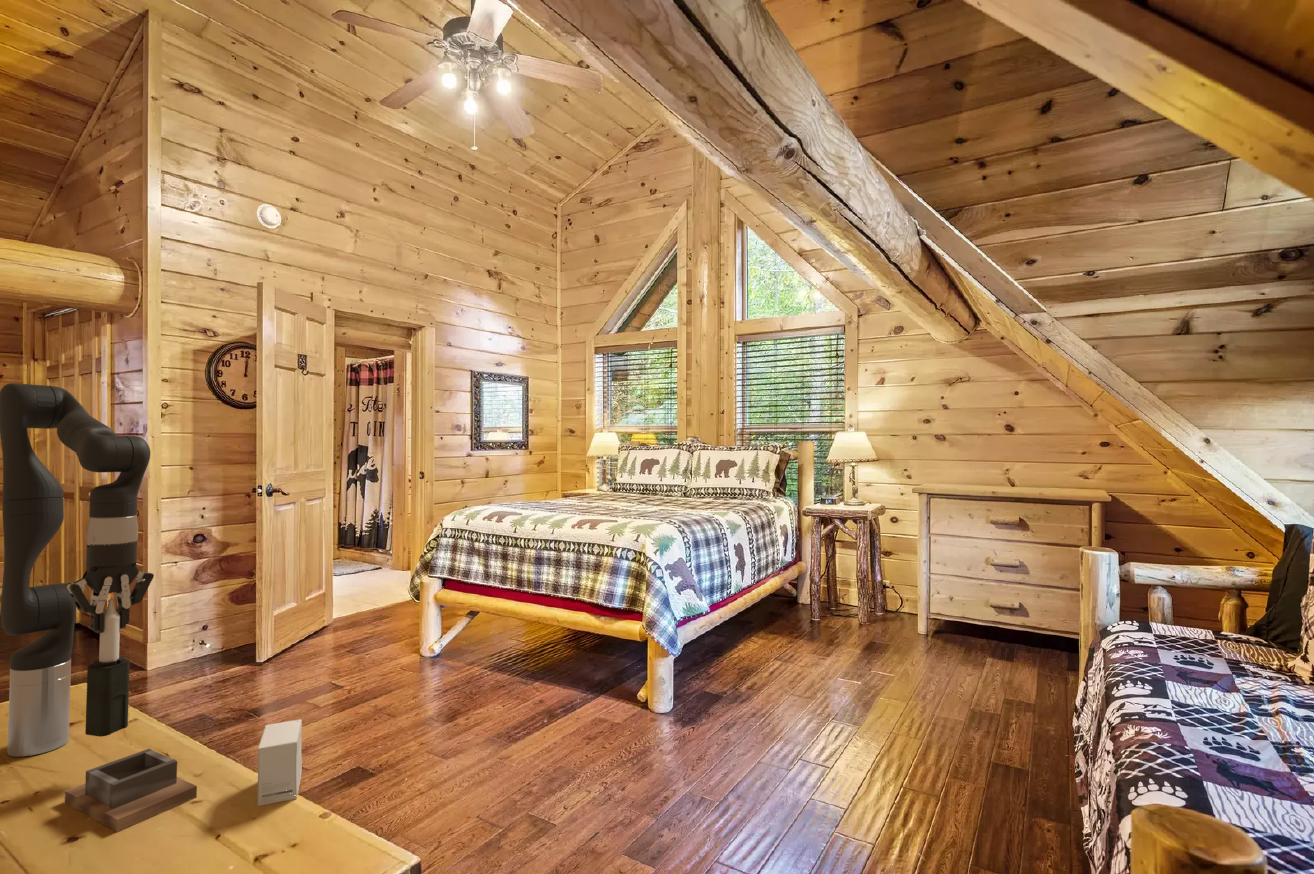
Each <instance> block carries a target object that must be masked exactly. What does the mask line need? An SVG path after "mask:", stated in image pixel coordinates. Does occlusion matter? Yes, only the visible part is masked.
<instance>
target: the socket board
mask: <svg viewBox="0 0 1314 874" xmlns="http://www.w3.org/2000/svg"><path fill="white" fill-rule="evenodd" d="M197 788H198V786H197V785H195V784H193V783H191V782H189V781H187V780H184V779H182V778H180V777H178V760H176V759H173V758H172V757H169V756H166V755H164V754H162V753H160V752H157V751H155V750H153V749H152V748H151V749H150V748H147V749H143V750H141V751H138V752H135V753H132V754H130V755H128V756H125V757H122V758H119V759H115V760H112V761H110V762H107V763H105V764H101V765H100V766H96V767H93V768H90V769H88V770H86V771H85V782H84V783H83V784H80V785H78V786H75V787H72V788H69V789H66V790H64V803H65V804H67V805H69V806H70V807H72V808H74V809H76V810H77V811H79V812H81V813H83V814H84V815H86V816H88V817H89V818H91V817H92V818H91V819H93V818H94V820H95V821H97V822H98V821H99V823H100V824H102V825H104V826H106V827H108V829H111V830H113V831H114V832H117V833H118V832H120V831H122V830H125V829H127V828H130V827H132V826H134V825H137V824H139V823H140V822H143V821H145V820H148V819H150V818H152V817H154V816H157V815H159V814H161V813H164V812H167V811H168V810H170V809H173V808H175V807H177V806H180V805H183V804H184V803H187V802H189V801H190V800H194V799H196V798H197V796H198V795H197V791H198V789H197Z"/></svg>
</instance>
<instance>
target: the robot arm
mask: <svg viewBox="0 0 1314 874" xmlns="http://www.w3.org/2000/svg"><path fill="white" fill-rule="evenodd" d="M28 429H47V430H48V429H49V430H51V429H56V435H57V437H58V440H59V441H60V442H61V443H62V444H63V445H64V446H65V447H67V448H68V449H70V450H71V451H73V452H75V454H76V456H77V459H78V463H79V464H80V466H81V467H82V468H83V469H84V470H86V471H89V472H93V473H119V475H118V476H117V478H116V479H115V480H114V481H113V482H109V483H106V484H101V485H98V486H94V487H93V488H92V489H91V490H90V492H89V493H90V494H89V506H88V507H89V510H88V511H89V512H88V513H89V514H88V523H87V528H86V544H85V545H86V548H85V550H86V551H85V571H84V573H83V575H82V578H80V579H78V580H76V581H73V582H66V583H65V582H61V583H60V582H59V583H51V584H45V585H44V584H43V585H37V586H29V585H30V584H29V583H30V577H31V574H32V570H33V568H34V565H35V563H36V562H37V560H38V558H39V557H40V556H41V554H42V552H43V551H44V549H45V548H47V545H48V544H50V542H51V541H52V539H53V538H54V537H55V536H56V534H57V533H58V531H59V529H60V528H61V527H62V524H63V523H64V519H65V509H64V508H65V506H64V505H65V504H64V503H65V501H64V496H65V495H64V490H63V487H62V485H61V483H60V482H59V480H58V479H57V477H55V475H54V474H53V473H52V472H51V471H50V470H49V469H48V468H47V467H46V465H44V463H43V462H42V461H41V459H39V457H38V456H37V454H36V452H35V451H34V449H33V447H32V445H31V440H30V438H29V432H28ZM0 445H1V451H2V497H1V498H2V502H1V503H2V504H1V507H2V514H1V515H2V528H3V529H2V530H3V550H4V551H3V554H4V555H3V556H4V557H3V576H2V588H1V597H0V623H1V627H2V629H3V631H4V633H6V635H8V636H20V635H26V634H32V633H37V632H43V631H44V632H45V633H44V634H42V636H40V637H39V638H37V639H36V640H35V641H33V642H31V643H30V644H27V645H26V646H24V647H22V648H19V649H17V650H15V652H13V653H12V654H11V656H10V660H9V695H8V696H9V697H8V698H9V699H8V722H7V724H8V727H7V751H6V752H7V755H8V756H10V757H16V758H18V757H19V758H20V757H29V756H35V755H39V754H44V753H48V752H51V751H54V750H55V749H58V748H61V747H63V746H64V745H65V744H67V743H68V742H69V737H70V736H69V735H70V710H71V709H70V708H71V707H70V706H71V681H72V680H71V676H72V675H71V674H72V673H71V671H72V652H73V651H72V650H73V646H74V633H75V624H76V614H77V610H78V611H80V612H84V613H89V614H90V630H91V631H93V632H94V633H96V634H100V633H103V632H104V614H105V612H104V609H105V605H106V602H107V600H108V597H109V594H114V596H115V599H116V604H117V608H116V607H115V609H116V611H117V612H118V613H119V615H120V630H121V629H125V628H126V627H127V625H129V623H130V609H131V607H132V606H135V604H136V605H137V604H139V603H142V601H143V598H144V597H145V595H146V592H147V590H148V589H149V587H150V585H151V583H152V581H153V579H154V576H155V575H154V573H153V572H147V571H140V569H139V568H138V565H137V562H138V540H139V539H138V538H139V523H138V517H137V516H138V495H139V491H140V488H141V485H142V482H143V478H144V475H145V473H146V472H147V469H148V466H149V464H150V460H151V448H150V446H149V444H148V442H147V441H146V440H145V439H144V438H143V437H141V436H137V435H117V434H116V432H115V431H114V430H113V429H112V428H111V427H109V426H108V425H106V424H104V423H103V422H102V421H99V420H98V419H96V418H94V417H93V416H92V415H90V414H89V413H88V412H87V410H86V409H85V408H84V406H83V405H82V404H81V403H80V402H79V400H78V399H77V398H76V397H75V396H74V395H73V394H72V393H71V392H69V391H68V390H67V389H64V388H63V387H60V386H55V385H54V386H53V385H43V384H42V385H41V384H31V383H30V384H29V383H28V384H27V383H16V382H14V383H11V382H10V383H7V384H5V385H3V387H2V388H1V389H0ZM134 580H135V582H136V583H135V584H134V587H133V589H132V591H131V590H130V585H131V584H132V582H133V581H134ZM86 585H87V586H88V587H89V588H90V589H91V594H90V602H89V600H88V598H87V597H86V595H85V593H84V591H85V589H86V587H85V586H86Z"/></svg>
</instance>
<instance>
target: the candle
mask: <svg viewBox="0 0 1314 874" xmlns="http://www.w3.org/2000/svg"><path fill="white" fill-rule="evenodd" d="M107 600H108V601H107V602H108V604H107V606H106V609H105V611H104V613H105V614H104V632H103V633H99V647H98V648H99V655H98V658H96V659H95V660H93V662H92V663H91V664H89V665H87V667H86V669H87V671H86V673H87V674H86V675H87V676H86V698H85V699H86V702H85V703H86V705H85V706H86V708H85V710H86V711H85V731H84V732H85V733H84V734H85V735H87V736H93V737H101V738H102V737H107V736H110V735H111V734H114V733H116V732H118V731H121V730H123V729H124V730H125V729H126V728H128V725H129V696H130V695H129V694H130V693H129V692H130V671H131V670H130V668H131V667H130V663H131V661H130V659H125V656H123V655H120V635H121V633H120V632H121V629H120V615H119V613H118V612H117V611H116V607H115V605H114V599H113V598H110V599H107Z"/></svg>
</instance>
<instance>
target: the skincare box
mask: <svg viewBox="0 0 1314 874" xmlns="http://www.w3.org/2000/svg"><path fill="white" fill-rule="evenodd" d="M302 722H303V721H302V719H301V718H300V719H296V720H295V719H294V720H289V721H288V720H287V721H283V722H282V721H281V722H277V723H276V722H274V723H271V724H270V723H268V724H266V725H265V727H264V729H263V733H262V735H261V739H260V741H259V744H258V747H257V807H259V806H267V805H271V804H273V803H274V804H275V803H280V802H287V801H292V800H296V799H298V794H299V790H300V789H299V788H300V786H301V785H300V784H301V778H302V772H303V764H302V762H303V759H302V733H303V731H302V727H303V725H302V724H303V723H302ZM286 790H287V791H286ZM290 793H291V794H290ZM294 795H296V796H297V797H296V796H294Z"/></svg>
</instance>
